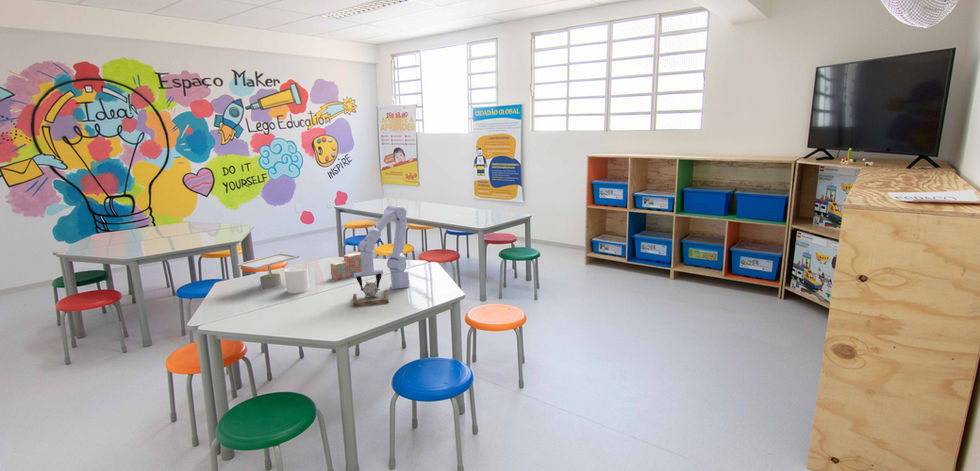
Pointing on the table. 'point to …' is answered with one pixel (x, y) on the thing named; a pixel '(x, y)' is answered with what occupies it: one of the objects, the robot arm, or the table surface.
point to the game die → (370, 289)
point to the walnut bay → (370, 301)
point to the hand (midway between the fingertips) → (369, 289)
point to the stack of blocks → (346, 266)
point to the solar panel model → (269, 279)
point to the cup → (297, 279)
